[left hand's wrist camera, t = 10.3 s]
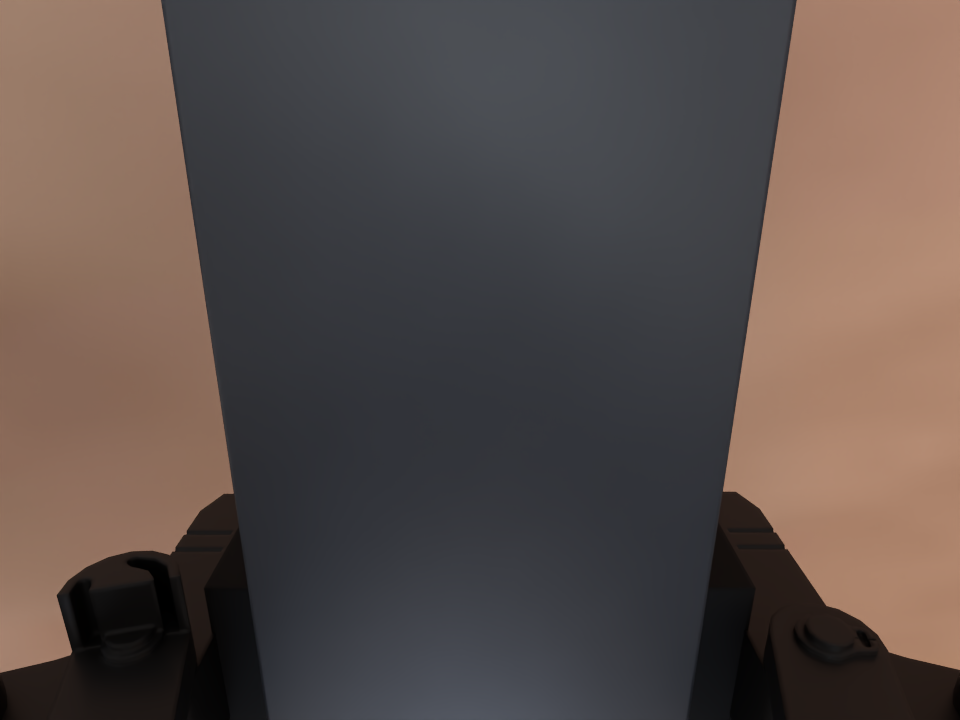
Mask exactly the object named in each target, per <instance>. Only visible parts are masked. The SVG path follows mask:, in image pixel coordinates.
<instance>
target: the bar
mask: <svg viewBox="0 0 960 720" xmlns="http://www.w3.org/2000/svg"><path fill="white" fill-rule="evenodd" d="M796 1H797V0H161V2H162V9H163V16H164V22H165V29H166V36H167V43H168V49H169V56H170V63H171V70H172V77H173V83H174V90H175V97H176V104H177V110H178V117H179V124H180V131H181V138H182V144H183V151H184V158H185V165H186V171H187V178H188V185H189V192H190V199H191V205H192V212H193V219H194V226H195V232H196V239H197V246H198V253H199V260H200V266H201V273H202V280H203V287H204V293H205V300H206V307H207V314H208V321H209V327H210V334H211V341H212V348H213V354H214V361H215V368H216V375H217V382H218V388H219V395H220V402H221V409H222V415H223V422H224V429H225V436H226V442H227V449H228V456H229V463H230V470H231V476H232V483H233V490H234V497H235V503H236V510H237V517H238V524H239V531H240V537H241V544H242V551H243V558H244V564H245V571H246V578H247V585H248V592H249V598H250V605H251V612H252V619H253V625H254V632H255V639H256V646H257V653H258V659H259V666H260V673H261V680H262V686H263V693H264V700H265V707H266V714H267V720H688V719H689V712H690V705H691V699H692V692H693V685H694V679H695V672H696V665H697V659H698V652H699V645H700V639H701V632H702V626H703V619H704V612H705V606H706V599H707V592H708V586H709V579H710V572H711V566H712V559H713V552H714V546H715V539H716V532H717V526H718V519H719V513H720V506H721V499H722V493H723V486H724V479H725V473H726V466H727V459H728V453H729V446H730V439H731V433H732V426H733V419H734V413H735V406H736V400H737V393H738V386H739V380H740V373H741V366H742V360H743V353H744V346H745V340H746V333H747V326H748V320H749V313H750V306H751V300H752V293H753V287H754V280H755V273H756V267H757V260H758V253H759V247H760V240H761V233H762V227H763V220H764V213H765V207H766V200H767V193H768V187H769V180H770V174H771V167H772V160H773V154H774V147H775V140H776V134H777V127H778V120H779V114H780V107H781V100H782V94H783V87H784V80H785V74H786V67H787V61H788V54H789V47H790V41H791V34H792V27H793V21H794V14H795V7H796Z"/></svg>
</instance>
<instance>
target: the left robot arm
mask: <svg viewBox="0 0 960 720" xmlns="http://www.w3.org/2000/svg"><path fill="white" fill-rule="evenodd" d="M57 598H58V602H59V605H60V609H61V612H62V616H63V620H64V623H65V627H66V630H67V634H68V637H69V641H70V645H71V648H72V653H71V655H70V656H67V657H64V658H60V659H57V660H54V661H50V662H45V663H41V664H37V665H32V666H28V667H24V668H20V669H15V670H11V671H7V672H2V673H0V720H267V714H266V707H265V700H264V693H263V686H262V680H261V673H260V666H259V659H258V653H257V646H256V639H255V632H254V625H253V619H252V612H251V605H250V598H249V592H248V585H247V578H246V571H245V564H244V558H243V551H242V544H241V537H240V531H239V524H238V517H237V510H236V503H235V497H234V494H223V495H222V496H221V497H219V498H218V499H216V500H215V501H214V502H212V503H211V504H209V505H208V506H207V507H205V508H204V509H203V510H201V511H200V512H199V514H198V515H197V517H196V518H195V520H194V521H193V523H192V524H191V526H190V527H189V529H188V530H187V535H184V536H183V537H182V539H181V540H180V542H179V543H178V545H177V546H176V550H175V552H172V553H171V555H167V554H163V553H159V552H155V551H133V552H128V553H124V554H120V555H116V556H112V557H108V558H106V559H104V560H101V561H99V562H97V563H95V564H93V565H90V566H88V567H86V568H85V569H83V570H82V571H81V572H79V573H78V574H76V575H75V576H74V577H72V578H71V579H70V580H68V581H67V583H66V584H65V585H64V587H63V588H62V589H61V591H60V592H59V593H58V594H57ZM688 720H960V670H957V669H953V668H948V667H944V666H940V665H936V664H931V663H927V662H923V661H918V660H914V659H910V658H906V657H902V656H899V655H896V654H892V653H889V652H888V650H887V649H886V647H885V646H884V644H883V642H882V641H881V639H880V638H879V636H878V635H877V634H876V633H875V632H874V631H872V630H871V629H870V628H869V627H868V626H866V625H865V624H864V623H863V622H861V621H860V620H858V619H856V618H855V617H853V616H851V615H849V614H847V613H845V612H843V611H841V610H839V609H835V608H832V607H828V606H826V605H825V603H824V602H823V601H822V599H821V598H820V596H819V595H818V593H817V592H816V590H815V589H814V587H813V586H812V584H811V583H810V582H809V580H808V579H807V577H806V576H805V574H804V573H803V571H802V570H801V568H800V567H799V566H798V564H797V563H796V561H795V560H794V558H793V557H792V555H791V554H790V552H789V551H788V550H787V549H785V547H784V544H783V542H782V541H781V539H780V538H779V536H778V535H777V533H774V532H773V528H772V526H771V525H770V523H769V522H768V520H767V519H766V517H765V516H764V515H763V513H762V512H761V510H760V509H759V508H758V507H756V506H755V505H754V504H752V503H751V502H749V501H748V500H747V499H745V498H744V497H742V496H741V495H740V494H738V493H737V492H723V493H722V499H721V506H720V513H719V519H718V526H717V532H716V539H715V546H714V552H713V559H712V566H711V572H710V579H709V586H708V592H707V599H706V606H705V612H704V619H703V626H702V632H701V639H700V645H699V652H698V659H697V665H696V672H695V679H694V685H693V692H692V699H691V705H690V712H689V719H688Z"/></svg>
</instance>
